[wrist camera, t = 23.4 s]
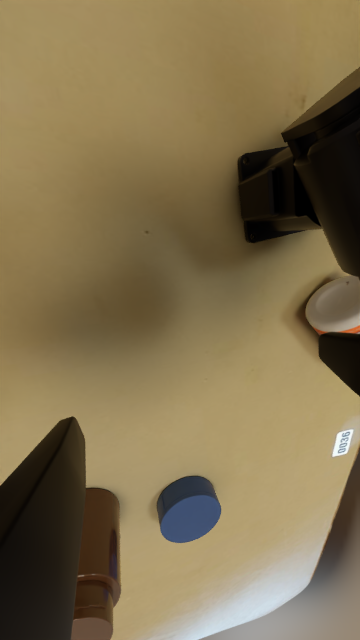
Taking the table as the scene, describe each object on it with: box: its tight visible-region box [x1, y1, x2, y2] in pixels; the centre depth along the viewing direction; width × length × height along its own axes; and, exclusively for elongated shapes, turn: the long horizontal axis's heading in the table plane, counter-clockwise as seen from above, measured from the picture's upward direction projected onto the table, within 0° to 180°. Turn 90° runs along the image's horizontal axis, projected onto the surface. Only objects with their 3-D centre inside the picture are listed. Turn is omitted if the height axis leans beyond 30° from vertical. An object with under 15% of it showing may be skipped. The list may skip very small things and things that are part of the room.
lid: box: [157, 476, 221, 543], centre depth 27 cm, size 7×7×2 cm
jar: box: [71, 488, 121, 640], centre depth 21 cm, size 6×6×9 cm
